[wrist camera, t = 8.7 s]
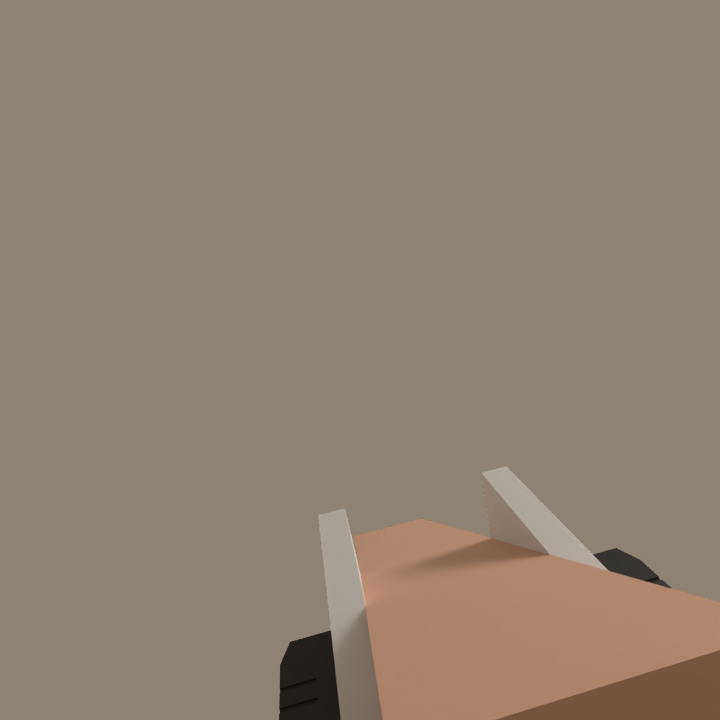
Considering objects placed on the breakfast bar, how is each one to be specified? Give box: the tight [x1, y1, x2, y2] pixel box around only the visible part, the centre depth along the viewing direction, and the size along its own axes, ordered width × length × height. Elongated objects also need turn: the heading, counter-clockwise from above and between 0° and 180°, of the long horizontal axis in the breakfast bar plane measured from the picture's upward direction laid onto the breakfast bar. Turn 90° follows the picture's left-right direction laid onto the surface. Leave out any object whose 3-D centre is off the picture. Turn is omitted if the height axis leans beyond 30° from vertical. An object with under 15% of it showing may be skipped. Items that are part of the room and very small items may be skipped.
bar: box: [354, 518, 720, 720], centre depth 15 cm, size 4×24×4 cm, turn 1°
